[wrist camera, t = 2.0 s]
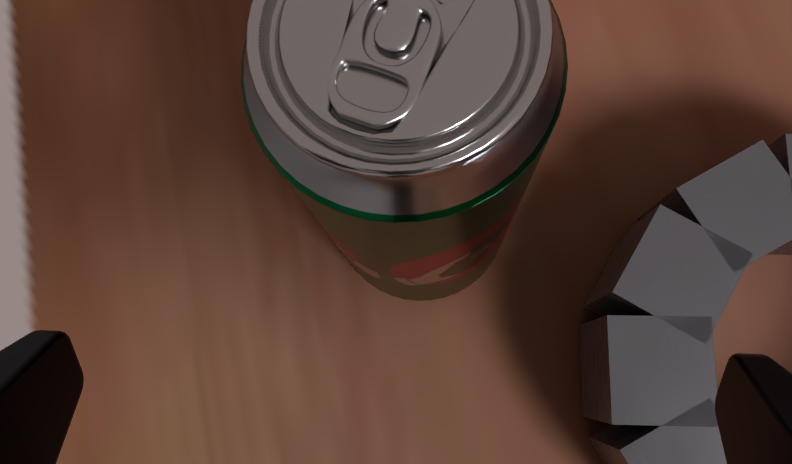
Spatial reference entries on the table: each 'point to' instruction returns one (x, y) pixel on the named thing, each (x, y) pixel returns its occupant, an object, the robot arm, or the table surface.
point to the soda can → (406, 124)
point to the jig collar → (678, 308)
